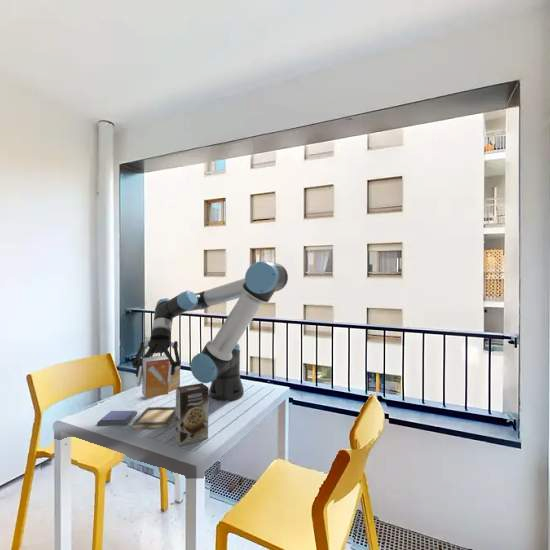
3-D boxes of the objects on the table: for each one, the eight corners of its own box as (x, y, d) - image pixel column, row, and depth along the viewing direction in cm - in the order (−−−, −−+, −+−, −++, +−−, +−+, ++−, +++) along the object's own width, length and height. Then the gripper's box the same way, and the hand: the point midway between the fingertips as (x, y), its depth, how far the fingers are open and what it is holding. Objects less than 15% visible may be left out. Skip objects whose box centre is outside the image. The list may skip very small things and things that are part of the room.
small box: (145, 398, 110) (145, 361, 110) (141, 393, 116) (142, 357, 116) (168, 394, 115) (169, 358, 115) (164, 389, 120) (164, 354, 120)
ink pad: (137, 414, 119) (137, 410, 119) (126, 424, 110) (126, 420, 110) (110, 414, 119) (110, 410, 119) (97, 425, 110) (97, 420, 110)
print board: (178, 410, 122) (179, 406, 122) (167, 427, 108) (167, 423, 108) (147, 411, 121) (147, 406, 121) (131, 428, 107) (131, 423, 107)
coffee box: (180, 446, 96) (180, 392, 96) (174, 437, 101) (175, 386, 101) (209, 438, 100) (209, 387, 101) (202, 430, 106) (202, 381, 106)
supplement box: (167, 392, 142) (167, 363, 142) (159, 391, 144) (159, 362, 144) (180, 387, 149) (180, 359, 149) (172, 385, 151) (173, 358, 151)
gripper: (190, 336, 132) (186, 387, 117) (133, 338, 128) (122, 390, 112) (189, 325, 127) (185, 376, 112) (130, 326, 123) (117, 380, 107)
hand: (153, 383), depth 112 cm, fingers closed on small box, 10 cm apart
